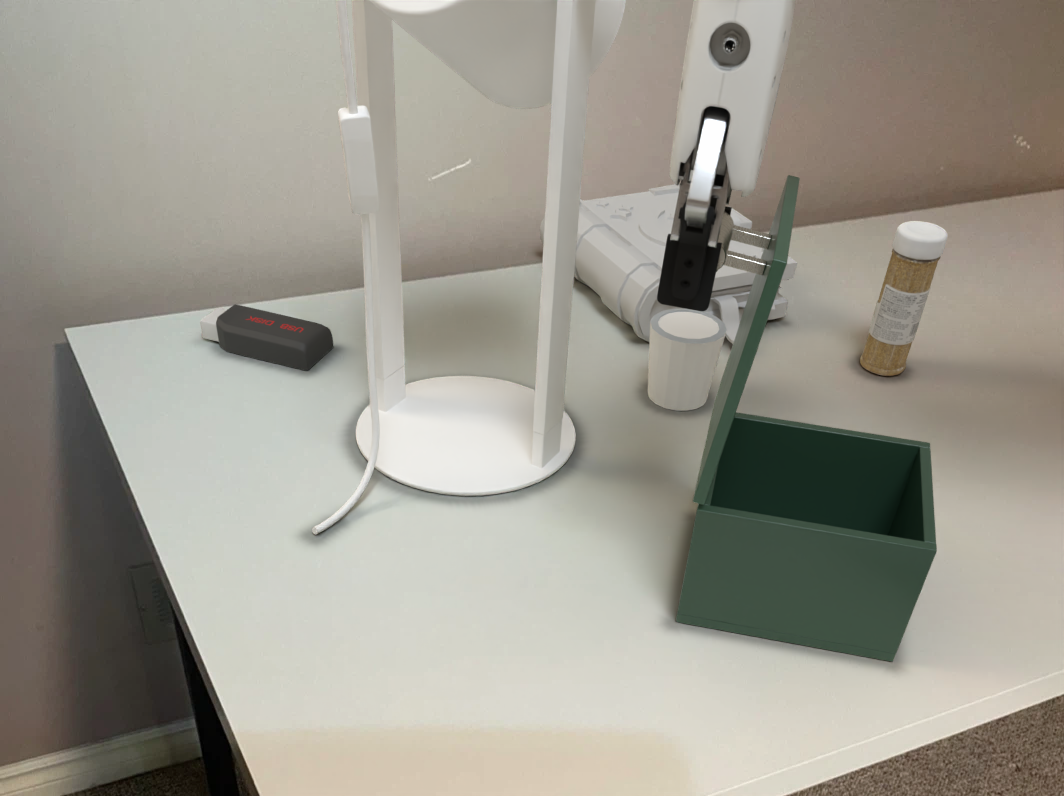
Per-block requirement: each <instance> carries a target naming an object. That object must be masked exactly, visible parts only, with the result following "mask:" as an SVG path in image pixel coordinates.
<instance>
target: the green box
mask: <svg viewBox="0 0 1064 796" xmlns="http://www.w3.org/2000/svg"><path fill="white" fill-rule="evenodd" d="M931 450H932V449H931V442H928V441H921V440H915V439H909V438H902V437H897V436H889V435H883V434H877V433H871V432H865V431H858V430H851V429H845V428H839V427H833V426H827V425H819V424H814V423H807V422H803V421H801V422H800V421H794V420H788V419H782V418H775V417H770V416H764V415H763V416H762V415H757V414H751V413H743V412H738V411H736V413H735V416H734V419H733V422H732V425H731V428H730V431H729V434H728V437H727V440H726V443H725V445H724V448H723V451H722V454H721V457H720V460H719V463H718V466H717V469H716V472H715V475H714V477H713V480H712V483H711V486H710V489H709V492H708V495H707V498H706V501H705V504H704V505H702V504H698V503H697V508H696V512H695V516H694V517H695V518H694V523H693V528H692V533H691V539H690V545H689V550H688V555H687V558H686V559H687V560H686V566H685V569H684V577H683V581H682V586H681V592H680V597H679V602H678V607H677V612H676V617H675V622H676V623H680V624H686V625H690V626H695V627H702V628H707V629H713V630H718V631H723V632H728V633H734V634H740V635H745V636H750V637H756V638H761V639H766V640H772V641H778V642H782V643H783V642H784V643H788V644H795V645H798V646H799V645H800V646H805V647H811V648H817V649H820V650H821V649H822V650H826V651H833V652H838V653H843V654H848V655H854V656H860V657H864V658H871V659H876V660H880V661H885V662H886V661H887V662H892V663H893V662H894V660H895V658H896V655H897V652H898V650H899V648H900V645H901V642H902V640H903V638H904V635H905V633H906V630H907V627H908V625H909V623H910V620H911V617H912V615H913V612H914V609H915V607H916V605H917V602H918V600H919V597H920V594H921V592H922V590H923V587H924V586H925V585H924V584H925V582H926V580H927V577H928V574H929V572H930V570H931V567H932V565H933V562H934V559H935V556H936V554H937V552H938V547H937V535H936V533H937V531H936V517H935V516H936V515H935V502H934V500H935V499H934V487H933V468H932V465H933V464H932V451H931Z"/></svg>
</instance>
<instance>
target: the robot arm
mask: <svg viewBox="0 0 1064 796" xmlns="http://www.w3.org/2000/svg"><path fill="white" fill-rule="evenodd" d="M796 4H797V0H693V1H692V7H691V13H690V19H689V26H688V31H687V38H686V43H685V51H684V55H683V64H682V70H681V76H680V83H679V89H678V90H679V91H678V96H677V97H678V98H677V104H676V111H675V112H676V113H675V120H674V128H673V137H672V146H671V154H670V163H669V164H670V165H669V173H668V174H669V178H670V180H671V181H672V182H673V184H676V185H677V186H678V185H679V184H680V185H679V194H678V199H677V204H676V210H675V215H674V220H673V225H672V230H671V234H668V236H667V241H666V247H665V253H664V259H663V265H662V271H661V276H660V282H659V288H658V294H657V300H658V302H659V303H660V304H663V305H669V306H674V307H680V308H685V309H691V310H696V311H705V310H707V309H708V307H709V303H710V299H711V294H712V289H713V284H714V280H715V275H716V272H717V271H718V270H717V265H718V260H719V256H720V251H721V246H722V243H719V242H718V238H719V234H720V229H721V224H722V220H723V215H724V212H726V213H728V214H729V215H730V214H731V210H732V208H733V207H731V206H729V205H730V201H731V197H732V192H733V191H737V192H741V195H740V196H741V198H746V197H748V196H750V195H751V194H752V193H754V191H755V189H756V186H757V183H758V180H759V174H760V171H761V167H762V163H763V159H764V155H765V151H766V146H767V143H768V137H769V133H770V129H771V125H772V119H773V114H774V111H775V107H776V102H777V98H778V93H779V88H780V84H781V79H782V74H783V71H784V67H785V63H786V62H785V61H786V59H787V58H786V57H787V54H788V49H789V43H790V37H791V32H792V29H793V22H794V18H795V17H794V15H795V11H796ZM711 225H712V226H711ZM716 270H717V271H716Z"/></svg>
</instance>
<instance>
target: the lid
mask: <svg viewBox="0 0 1064 796" xmlns="http://www.w3.org/2000/svg"><path fill="white" fill-rule="evenodd" d="M800 181H801V178H800V177H798V176H795V175H791V174H788V175H787V177H786V179H785V183H784V185H783V189H782V192H781V195H780V198H779V201H778V204H777V207H776V210H775V213H774V216H773V220H772V223H771V225H770V229H769V232H768V233H766V232H762V231H759V230H755V229H752V228H751V229H748V228H744V227H740V226H736V225H734V222H733V219H732V217H731V216H730V215H729V214H728V213H726V212H724V215H723V220H722V224H721V229H720V234H719V238H718V242H719V243H722V246H721V251H720V256H719V260H718V265H717V270H719V269H720V268H721V267H722V266H723V265H725V266H728V267H732V268H736V269H740V270H744V271H747V272H751V273H755V274H756V275H755V278H754V281H753V284H752V287H751V290H750V293H749V296H748V300H747V303H746V306H745V309H744V312H743V315H742V318H741V321H739V323H740V324H739V327H738V330H737V334H736V337H735V340H734V343H733V344H732V346H731V349H730V352H729V355H728V359H727V362H726V365H725V367H724V371H723V374H722V377H721V380H720V382H719V386H718V389H717V392H716V396H715V398H714V401H713V405H712V411H711V415H710V420H709V425H708V429H707V434H706V439H705V443H704V448H703V453H702V456H701V461H700V464H699V465H700V466H699V469H698V475H697V479H696V483H695V488H694V494H693V496H692V497H693V498H692V502H693V503H695V504H697V505H698V504H702V505H704V504H705V501H706V498H707V495H708V492H709V489H710V486H711V483H712V480H713V477H714V475H715V472H716V469H717V466H718V463H719V460H720V457H721V454H722V451H723V448H724V445H725V443H726V440H727V437H728V434H729V431H730V428H731V425H732V422H733V419H734V416H735V413H736V412H737V410H738V407H739V404H740V401H741V399H742V396H743V392H744V391H745V387H746V384H747V381H748V378H749V375H750V372H751V369H752V367H753V364H754V361H755V358H756V355H757V352H758V349H759V346H760V344H761V340H762V338H763V335H764V331H765V329H766V326H767V323H768V321H769V320H768V317H769V314H770V311H771V309H772V306H773V303H774V300H775V297H776V294H777V291H778V288H779V285H780V286H781V283H782V281H781V279H782V277H783V274H784V271H785V268H786V265H787V260H788V256H789V253H790V246H791V240H792V234H793V227H794V221H795V214H796V207H797V201H798V193H799V187H800ZM711 226H712V225H711ZM731 240H733V241H737V242H740V243H744V244H748V245H752V246H756V247H760V248H763V249H764V250H763V253H762V256H761V259H759V258H755V257H752V256H748V255H744V254H740V253H736V252H733V251H729V250H728V249H729V245H730V241H731ZM717 270H716V271H717ZM780 282H781V283H780Z"/></svg>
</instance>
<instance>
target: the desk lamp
mask: <svg viewBox="0 0 1064 796" xmlns="http://www.w3.org/2000/svg"><path fill="white" fill-rule="evenodd" d="M626 2H627V0H351V13H352V14H351V15H352V29H353V30H352V31H353V48H354V64H353V57H352V48H351V47H352V46H351V39H350V27H349V26H350V25H349V17H348V16H349V15H348V6H347V5H348V4H347V0H335V6H336V7H335V8H336V17H337V19H336V20H337V28H338V38H339V48H340V56H341V63H342V64H341V65H342V73H343V81H344V88H345V96H346V102H347V107H340V108H339V109H338V111H337V118H338V119H337V120H338V125H339V126H338V128H339V134H340V135H339V137H340V143H341V150H342V159H343V166H344V174H345V181H346V187H347V196H348V203H349V207H350V210H351V214H352V215H354V216H359V218H360V229H361V244H362V265H363V284H364V285H363V288H364V289H363V291H364V293H363V294H364V320H365V321H364V322H365V345H366V347H365V348H366V366H367V381H368V396H369V404H368V405H367V406H366V407H365V408H364V409H363V411H362V412H361V413H360V415H359V417H358V419H357V422H356V426H355V440H356V444H357V447H358V449H359V451H360V453H361V454H362V456H363V457H364V458H365V460H366V461H367V464H366V467H365V470H364V472H363V475H362V477H361V480H360V482H359V483H358V485H357V487H356V489H355V490H354V492H352V494H351V496H350V497H349V498H348V500H347V501H346V502H345V503H344V504H343V505H342V506H340V508H339V509H338V510H337V511H335V512H334V513H333V514H332V515H330V516H329V517H328V518H326V519H325V520H323V521H322V522H320V523H318V524H316V525H315V526H312V527H311V531H312V533H313V535H318V534H320V533H322V532H324V531H326V530H328V528H330V527H332V526H333V525H334V524H337V522H338V521H340V520H341V519H342V518H343V517H344V516H345V515H346V514H347V513H348V512H350V510H351V509H352V508H353V507H354V506H355V505H356V503H357V502H358V501H359V500H360V498H361V497H362V496H363V494H364V492H365V490H366V489H367V487H368V486H369V485H368V484H369V483H370V481H371V478H372V476H373V473H374V470H375V469H376V470H377V471H378V472H380V473H381V474H383V475H384V476H386V477H388V478H390V479H391V480H394V481H396V482H398V483H400V484H402V485H404V486H408V487H411V488H414V489H417V490H420V491H425V492H430V493H435V494H440V495H447V496H460V497H461V496H464V497H465V496H466V497H469V496H470V497H471V496H473V497H475V496H477V497H478V496H491V495H498V494H504V493H509V492H513V491H518V490H521V489H524V488H528V487H531V486H533V485H535V484H537V483H539V482H541V481H544V480H546V479H548V478H549V477H551V476H552V475H554V474H555V473H557V471H559V470H560V469H561V468H562V467H563V466H564V465H565V464H566V463H567V462H568V460H569V459H570V458H571V456H572V454H573V452H574V450H575V446H576V441H577V440H576V438H577V435H576V429H575V425H574V423H573V421H572V419H571V417H570V415H569V414H568V413H567V411H565V409H564V408H565V407H564V406H565V395H566V394H565V393H566V381H567V367H568V359H569V357H568V356H569V344H570V343H569V341H570V332H571V331H570V329H571V318H572V305H573V293H574V283H575V282H574V279H575V277H574V269H575V256H576V243H577V231H578V218H579V205H580V198H581V191H582V177H583V166H584V154H585V143H586V142H585V141H586V127H587V116H588V104H589V103H588V102H589V90H590V78H591V77H592V75H593V74H594V73H595V72H596V71H597V70H598V68H599V67H600V66H601V65H602V63H603V62H604V60H605V59H606V57H607V56H608V54H609V52H610V50H611V49H612V46H613V44H614V42H615V39H616V38H617V36H618V33H619V30H620V28H621V25H622V21H623V17H624V14H625V8H626V4H627V3H626ZM393 22H394V23H395V24H396V25H398V26H399V27H400V28H401V29H402V30H404V31H405V32H406V33H408V34H409V36H411V37H412V38H413V39H414V40H416V42H418V43H419V44H421V45H422V46H423V47H424V48H425V49H427V50H428V51H429V52H430V53H431V54H433V55H434V56H435V57H436V58H438V59H439V60H440V61H441V62H442V63H443V64H445V65H446V66H447V67H449V69H451V70H452V71H453V72H454V73H456V74H457V75H458V76H459V77H460V78H462V79H463V80H464V81H465V82H466V83H468V85H470V86H471V87H472V88H474V89H475V90H476V91H477V92H478V93H480V94H481V95H482V96H484V97H485V98H486V99H488V100H490V102H493V103H495V104H497V105H500V106H502V107H505V108H510V109H516V110H532V109H539V108H543V107H546V106H549V105H551V108H550V124H549V141H548V142H549V143H548V157H547V177H546V192H545V193H546V194H545V195H546V196H545V210H544V211H545V213H544V215H545V227H544V245H543V244H542V247H543V248H542V264H541V282H540V300H539V316H538V331H537V332H538V334H537V351H536V352H537V353H536V370H535V387H534V389H533V388H530V387H528V386H525V385H522V384H519V383H516V382H513V381H509V380H504V379H498V378H495V377H486V376H479V375H478V376H475V375H447V376H446V375H445V376H436V377H431V378H424V379H420V380H416V381H415V380H414V381H411V382H408V383H406V367H405V365H406V355H405V334H404V333H405V329H404V328H405V325H404V305H403V304H404V300H403V299H404V298H403V276H402V275H403V274H402V250H401V249H402V247H401V223H400V221H401V219H400V218H401V217H400V194H399V193H400V192H399V165H398V143H397V141H398V140H397V139H398V138H397V137H398V136H397V115H396V112H397V111H396V87H395V62H394V61H395V60H394V59H395V57H394V35H393V34H394V33H393V31H394V30H393ZM353 65H355V74H354V66H353ZM355 81H356V82H355Z"/></svg>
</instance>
